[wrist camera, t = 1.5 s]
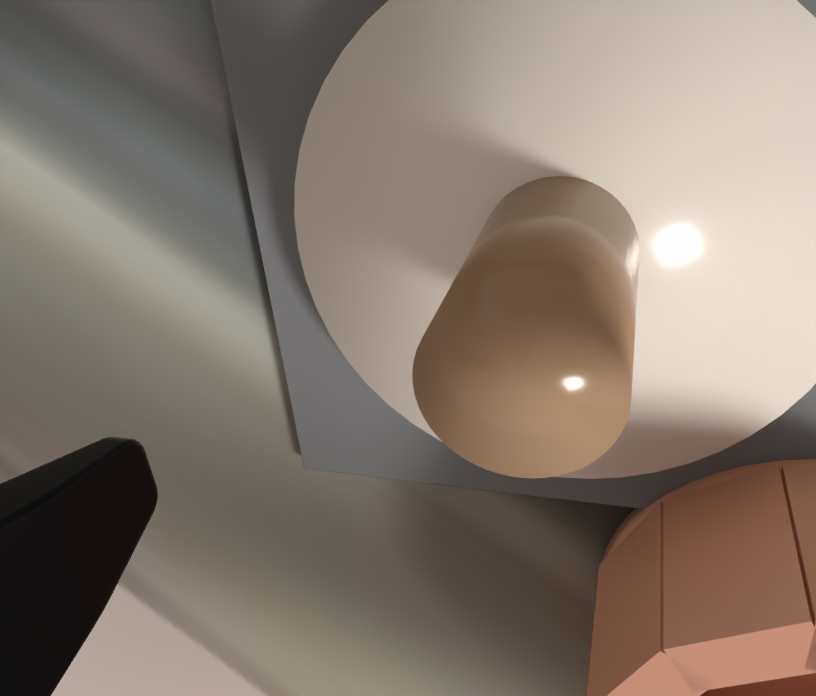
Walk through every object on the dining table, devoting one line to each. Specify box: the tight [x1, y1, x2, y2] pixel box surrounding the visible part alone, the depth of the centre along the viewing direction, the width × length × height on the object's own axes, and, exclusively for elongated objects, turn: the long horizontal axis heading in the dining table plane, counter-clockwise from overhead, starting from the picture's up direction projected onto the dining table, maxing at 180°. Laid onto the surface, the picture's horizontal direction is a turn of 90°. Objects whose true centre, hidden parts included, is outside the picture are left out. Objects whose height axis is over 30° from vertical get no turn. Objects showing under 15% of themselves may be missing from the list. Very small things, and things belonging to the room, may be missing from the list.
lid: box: [294, 0, 816, 479], centre depth 13 cm, size 11×11×6 cm
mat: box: [210, 0, 816, 509], centre depth 15 cm, size 14×14×1 cm
